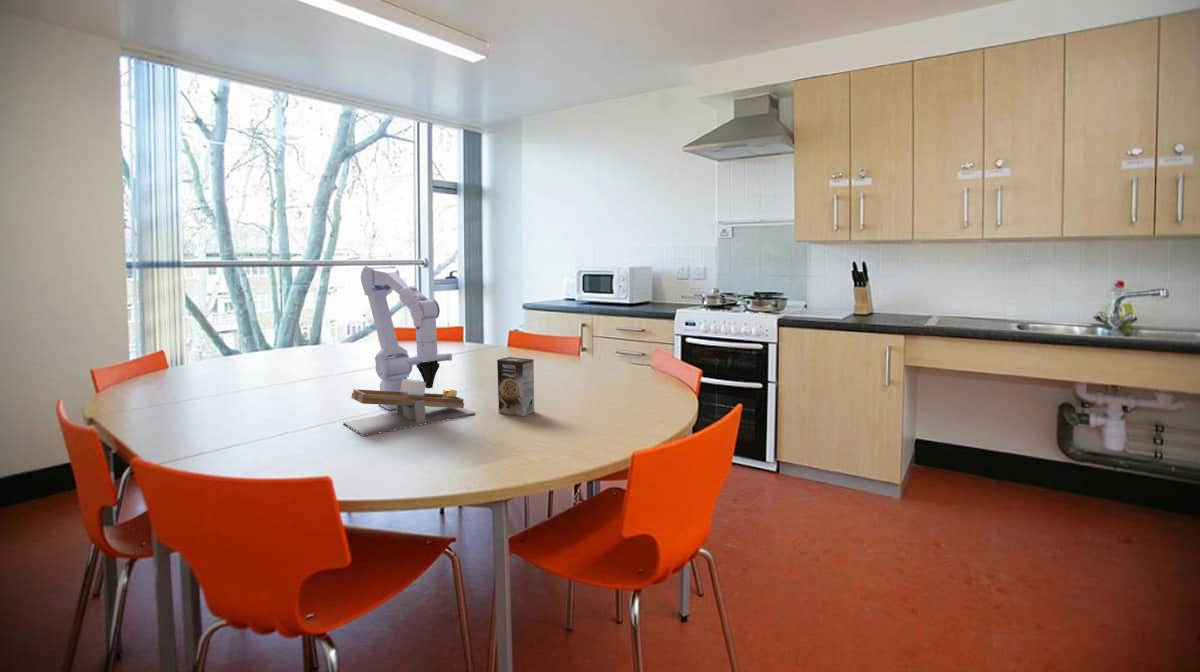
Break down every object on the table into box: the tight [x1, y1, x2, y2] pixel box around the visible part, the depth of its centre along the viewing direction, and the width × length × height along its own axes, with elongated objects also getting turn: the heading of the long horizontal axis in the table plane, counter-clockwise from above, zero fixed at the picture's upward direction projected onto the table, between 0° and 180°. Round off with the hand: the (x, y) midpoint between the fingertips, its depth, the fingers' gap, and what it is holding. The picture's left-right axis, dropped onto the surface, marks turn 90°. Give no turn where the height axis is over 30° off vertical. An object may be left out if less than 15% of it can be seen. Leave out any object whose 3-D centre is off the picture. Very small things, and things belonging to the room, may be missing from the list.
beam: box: [350, 388, 465, 408], centre depth 184 cm, size 12×30×2 cm, turn 129°
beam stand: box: [342, 400, 476, 435], centre depth 184 cm, size 16×33×6 cm, turn 129°
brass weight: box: [442, 388, 458, 399], centre depth 191 cm, size 4×4×3 cm
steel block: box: [400, 378, 426, 397], centre depth 184 cm, size 5×5×5 cm
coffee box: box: [496, 356, 535, 417], centre depth 190 cm, size 9×6×16 cm
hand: (429, 387), depth 187 cm, fingers closed
